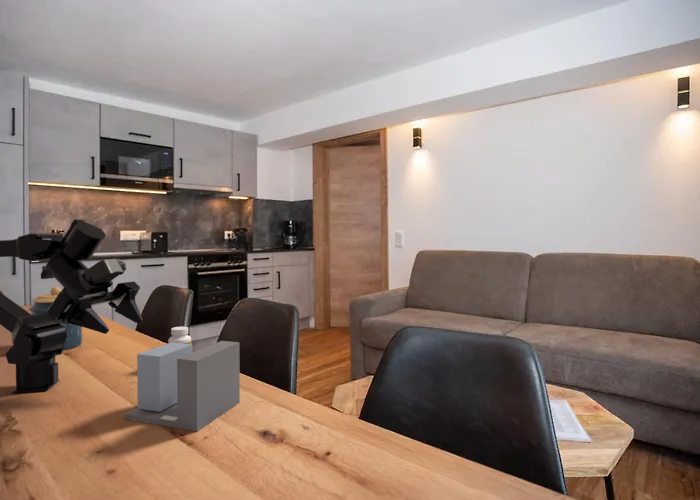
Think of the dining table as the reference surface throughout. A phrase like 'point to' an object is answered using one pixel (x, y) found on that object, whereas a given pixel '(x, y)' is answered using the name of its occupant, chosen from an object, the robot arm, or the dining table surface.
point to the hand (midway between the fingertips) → (125, 326)
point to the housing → (200, 388)
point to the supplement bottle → (180, 335)
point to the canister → (72, 330)
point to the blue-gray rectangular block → (159, 375)
